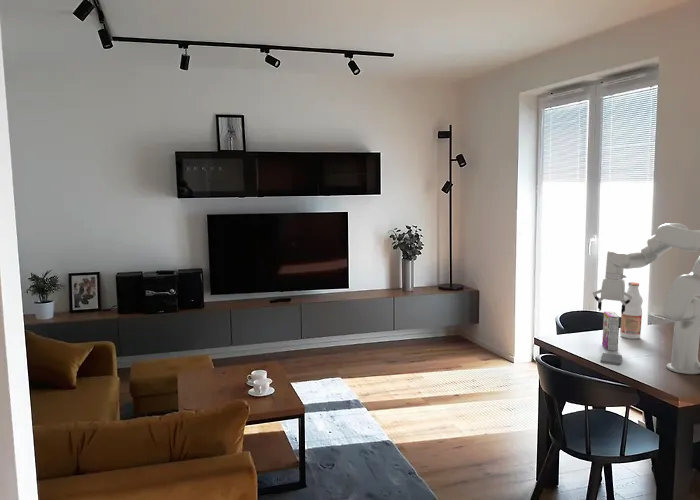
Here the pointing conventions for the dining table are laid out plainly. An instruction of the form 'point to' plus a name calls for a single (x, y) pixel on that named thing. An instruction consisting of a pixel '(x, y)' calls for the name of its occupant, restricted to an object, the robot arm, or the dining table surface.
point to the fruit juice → (632, 314)
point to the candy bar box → (610, 331)
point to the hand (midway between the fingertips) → (611, 311)
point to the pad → (611, 358)
